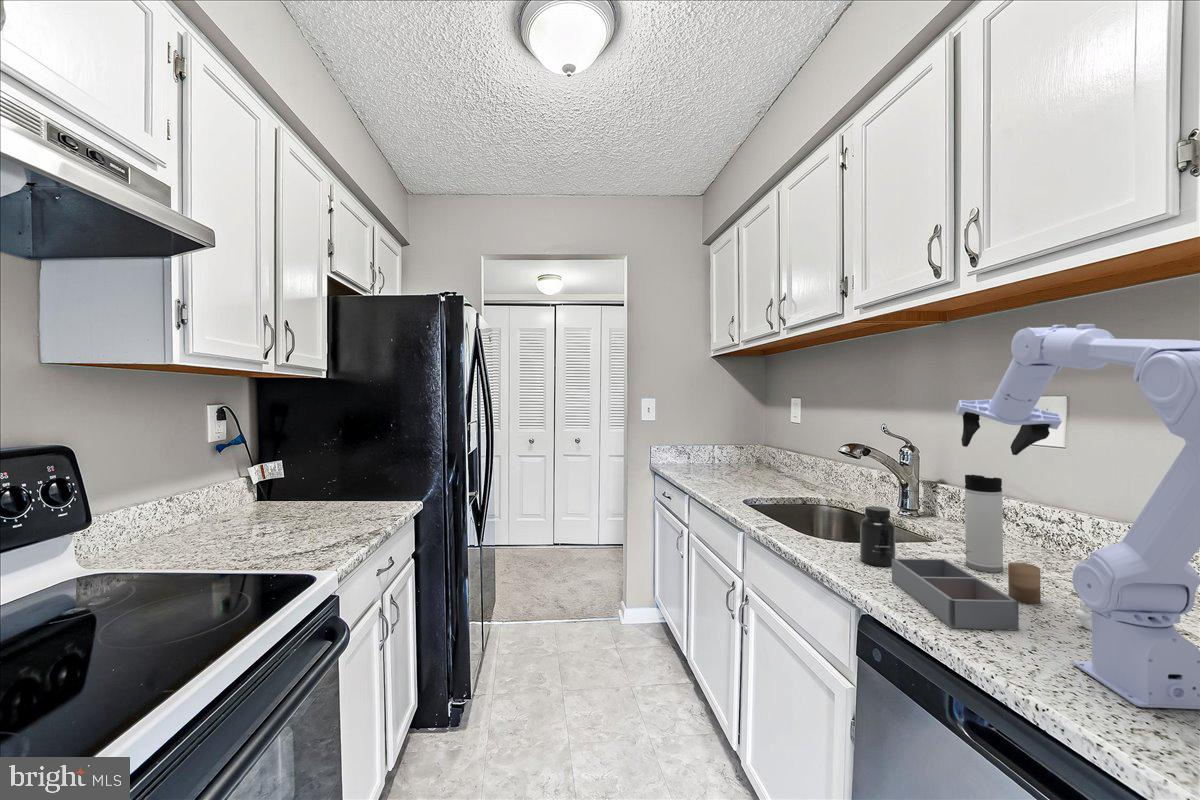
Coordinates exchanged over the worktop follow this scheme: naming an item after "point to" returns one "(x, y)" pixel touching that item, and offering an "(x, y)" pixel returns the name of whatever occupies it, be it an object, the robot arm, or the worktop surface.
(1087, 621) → the marshmallow
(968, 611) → the organiser
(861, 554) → the supplement bottle
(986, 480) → the travel mug
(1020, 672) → the worktop surface
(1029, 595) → the walnut cylinder
